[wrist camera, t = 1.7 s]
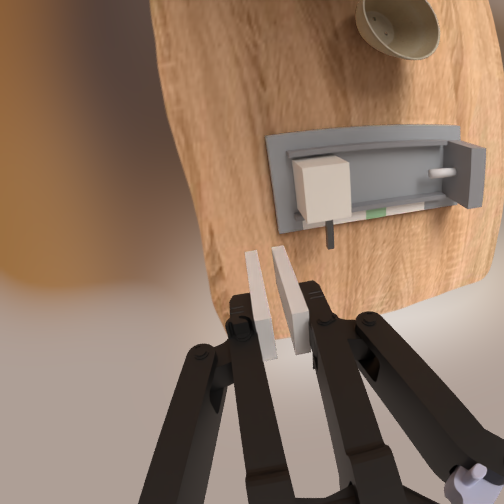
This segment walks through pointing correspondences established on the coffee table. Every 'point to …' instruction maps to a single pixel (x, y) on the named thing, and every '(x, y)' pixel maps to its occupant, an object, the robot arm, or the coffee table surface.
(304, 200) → the cream block
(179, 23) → the coffee table surface
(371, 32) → the flower pot
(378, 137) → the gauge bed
